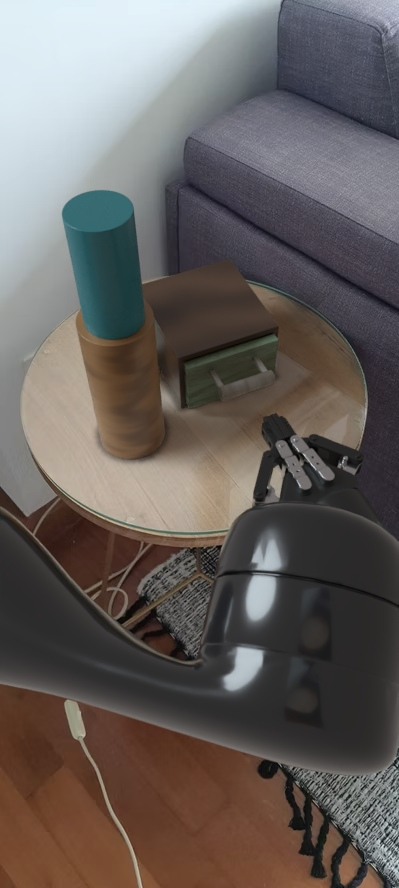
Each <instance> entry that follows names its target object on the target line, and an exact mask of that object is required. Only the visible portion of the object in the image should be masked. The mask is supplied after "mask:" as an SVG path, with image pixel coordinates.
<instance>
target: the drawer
mask: <svg viewBox="0 0 399 888" xmlns="http://www.w3.org/2000/svg"><path fill="white" fill-rule="evenodd" d="M278 349H279V337H278V338H277V337H276V336H275V334H271V335H267V336H264V337H263V336H261V337H258V338H255V339H251V340H248V341H245V342H242V343H239V344H236V345H233V346H230V347H227V348H223V349H220V350H217V351H214V352H211V353H208V354H205V355H202V356H199V357H195V358H192V359H189V360H186V361H185V362H184V380H185V399H186V404H187V405H188V406H187V407H188V409H193V408H196V407H199V406H201V405H204V404H208V403H211V402H214V401H216V400H219V399H220V400H221V402H224V401H226V400H230V399H232V398H235V397H238V396H241V395H244V394H247V393H250V392H253V391H256V390H259V389H262V388H265V387H268V386H271V385H274V384H276V369H277V359H278V351H279V350H278Z"/></svg>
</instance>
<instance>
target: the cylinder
mask: <svg viewBox="0 0 399 888" xmlns="http://www.w3.org/2000/svg"><path fill="white" fill-rule="evenodd" d="M61 218H62V219H61V220H62V223H63V229H64V233H65V239H66V242H67V247H68V252H69V253H68V254H69V258H70V262H71V267H72V273H73V277H74V282H75V286H76V287H75V288H76V291H77V296H78V297H77V298H78V301H79V306H80V309H81V312H82V316H83V321H84V325H85V328H86V329H87V330H88V332H90V333H91V334H92V335H94V336H96V337H98V338H101V339H107V340H117V339H122V338H126V337H128V336H131V335H133V334H134V333H136V332H137V331H138V330H139V329H140V328H141V327H142V326H143V324H144V321H145V307H144V298H143V289H142V284H143V281H142V273H141V262H140V255H139V253H140V252H139V245H138V236H137V225H136V217H135V208H134V203H133V202H132V200H131V199H130V198H129V197H128V196H126V195H125V194H123V193H121V192H118V191H114V190H108V189H94V190H89V191H85V192H82V193H79V194H77V195H75V196H73V197H71V198H70V199H68V201H67V202H66V203H65V204H64V205H63V208H62V210H61Z"/></svg>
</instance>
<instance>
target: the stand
mask: <svg viewBox="0 0 399 888" xmlns="http://www.w3.org/2000/svg"><path fill="white" fill-rule="evenodd" d="M144 307H145V321H144V324H143V326H142V327H141V328H140V329H139V330H138V331H137V332H136V333H134V334H133V335H131V336H128V337H126V338H122V339H117V340H107V339H101V338H98V337H96V336H94V335H92V334H91V333H90V332H88V330H87V329H86V328H85V325H84V321H83V316H82V312H81V308H79V310H78V312H77V315H76V316H75V329H76V333H77V337H78V338H77V339H78V342H79V346H80V351H81V355H82V356H81V357H82V360H83V365H84V369H85V375H86V379H87V383H88V388H89V393H90V397H91V402H92V406H93V410H94V416H95V420H96V424H97V429H98V433H99V438H100V442H101V444H102V447H103V448H104V449H105V450H106V451H107V452H108V453H109V454H111V455H112V456H115V457H117V458H119V459H123V460H124V459H125V460H135V459H141V458H144V457H147V456H149V455H150V454H152V453H154V452H155V451H156V450H157V449H158V448H159V447H160V446H161V444H163V441H164V438H165V434H166V433H165V432H166V431H165V420H164V419H165V418H164V409H163V408H164V407H163V400H162V389H161V388H162V387H161V379H160V378H161V376H160V368H159V366H158V356H157V346H156V335H155V325H154V314H153V311H152V309H151V307H150V306H149V304H148V303H147V302H146V301H144Z"/></svg>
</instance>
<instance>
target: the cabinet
mask: <svg viewBox="0 0 399 888" xmlns="http://www.w3.org/2000/svg"><path fill="white" fill-rule="evenodd" d="M142 289H143V298H144V301H146V302H147V303H148V304H149V306H150V307H151V309H152V311H153V314H154V325H155V335H156V346H157V356H158V366H159V371H160V373H161V374H162V376H163V378H164V379H165V382H166V383H167V385H168V387H169V388H170V390H171V392H172V394H173V397H174V398H175V399H176V402H177V403H178V405H179V407H180V408H181V409H183V408H186V407H188V405H187V404H186V399H185V380H184V362H185V361H186V360H189V359H192V358H195V357H199V356H202V355H205V354H208V353H211V352H214V351H217V350H220V349H223V348H227V347H230V346H233V345H236V344H239V343H242V342H245V341H248V340H251V339H255V338H258V337H261V336H263V337H264V336H267V335H271V334H275V336H276V337H277V338H278V339H279V330H280V329H279V328H280V326H279V324H278V323H277V322H276V320H275V319H274V317H273V316H272V314H271V313H270V312H269V310H268V309H267V308H266V306H265V305H264V304H263V302H262V301H261V299H260V298H259V297H258V295H257V294H256V293H255V291H254V290H253V288H252V287H251V285H249V283H248V282H247V281H246V279H245V278H244V276H243V275H242V274H241V272H240V271H239V270H238V268H237V267H236V265H235V264H234V263H233V261H232V260H231V258H228V259H224V260H220V261H217V262H214V263H209V264H206V265H203V266H200V267H196V268H193V269H189V270H186V271H183V272H180V273H176V274H173V275H169V276H166V277H162V278H159V279H155V280H152V281H148V282H144V283H142Z"/></svg>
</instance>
